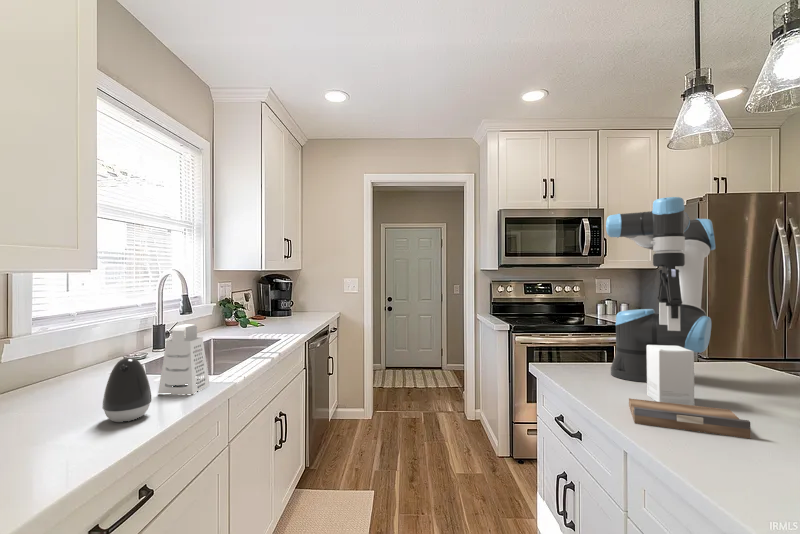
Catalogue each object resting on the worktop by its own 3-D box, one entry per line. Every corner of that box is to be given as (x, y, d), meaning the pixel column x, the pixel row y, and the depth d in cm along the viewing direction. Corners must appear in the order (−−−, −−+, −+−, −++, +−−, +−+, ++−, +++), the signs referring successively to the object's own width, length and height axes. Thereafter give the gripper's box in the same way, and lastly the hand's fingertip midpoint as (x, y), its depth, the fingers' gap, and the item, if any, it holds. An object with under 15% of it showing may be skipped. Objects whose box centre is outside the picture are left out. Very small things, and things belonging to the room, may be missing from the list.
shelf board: (628, 405, 111) (628, 392, 111) (729, 417, 101) (729, 403, 102) (634, 423, 98) (634, 408, 98) (751, 439, 88) (750, 422, 89)
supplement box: (696, 406, 110) (695, 351, 110) (659, 404, 112) (658, 349, 112) (680, 396, 119) (679, 345, 119) (646, 394, 120) (645, 344, 121)
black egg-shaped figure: (96, 429, 95) (96, 363, 95) (109, 414, 105) (109, 355, 105) (146, 423, 99) (147, 360, 99) (154, 409, 108) (155, 352, 109)
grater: (209, 385, 132) (210, 323, 132) (192, 395, 121) (192, 327, 121) (177, 385, 132) (177, 323, 132) (157, 395, 121) (158, 328, 122)
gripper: (647, 254, 128) (647, 321, 128) (660, 250, 106) (661, 332, 105) (675, 254, 125) (676, 323, 125) (695, 250, 103) (696, 334, 102)
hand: (669, 327), depth 115 cm, fingers open, 13 cm apart
